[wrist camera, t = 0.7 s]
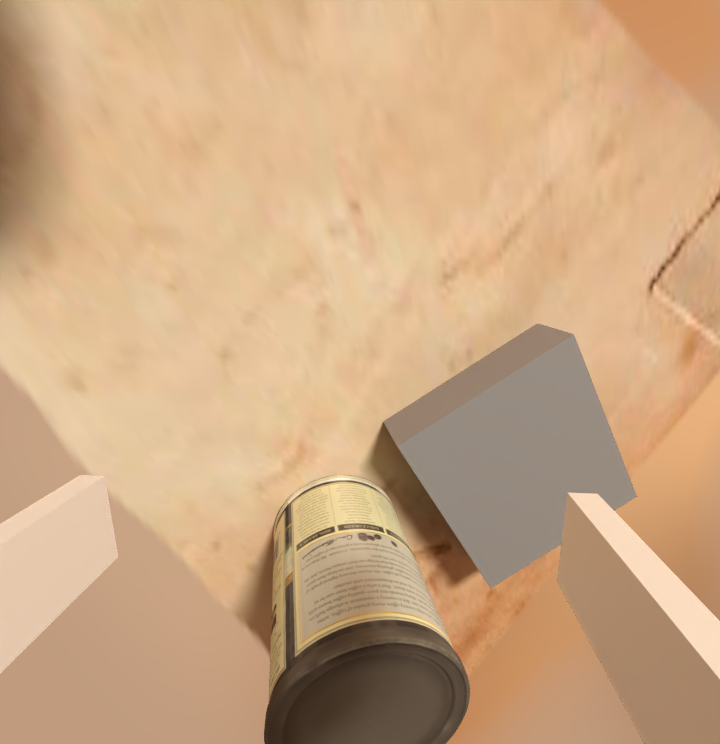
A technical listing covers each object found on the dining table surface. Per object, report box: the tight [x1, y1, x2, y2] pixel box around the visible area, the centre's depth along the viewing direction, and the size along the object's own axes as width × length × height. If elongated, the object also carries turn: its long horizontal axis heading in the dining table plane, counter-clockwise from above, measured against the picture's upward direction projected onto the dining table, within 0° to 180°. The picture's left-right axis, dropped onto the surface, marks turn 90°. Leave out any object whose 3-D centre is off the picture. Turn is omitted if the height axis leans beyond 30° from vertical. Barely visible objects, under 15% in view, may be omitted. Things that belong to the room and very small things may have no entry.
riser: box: [384, 324, 637, 588], centre depth 31 cm, size 16×14×4 cm
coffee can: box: [264, 475, 470, 744], centre depth 26 cm, size 10×10×14 cm
